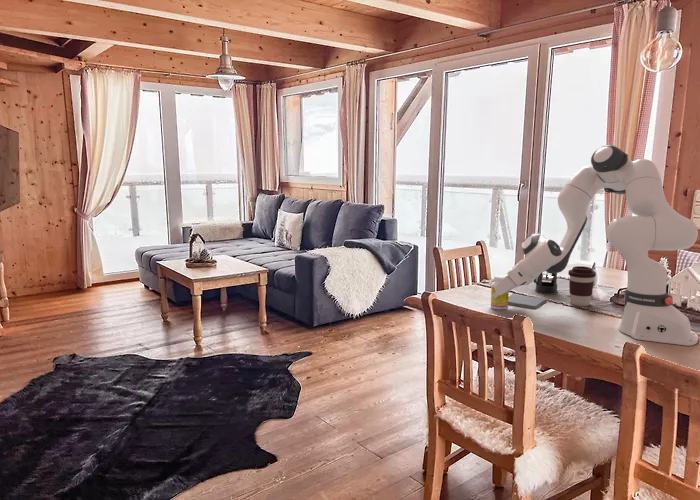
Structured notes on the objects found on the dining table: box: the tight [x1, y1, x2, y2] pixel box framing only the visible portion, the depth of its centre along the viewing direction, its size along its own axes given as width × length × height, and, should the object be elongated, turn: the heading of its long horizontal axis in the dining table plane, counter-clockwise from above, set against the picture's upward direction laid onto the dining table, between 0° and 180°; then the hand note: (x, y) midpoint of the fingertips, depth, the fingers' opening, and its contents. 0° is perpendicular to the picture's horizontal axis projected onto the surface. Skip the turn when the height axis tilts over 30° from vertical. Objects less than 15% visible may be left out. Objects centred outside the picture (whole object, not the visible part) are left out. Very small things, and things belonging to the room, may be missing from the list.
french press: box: [533, 272, 559, 295], centre depth 221 cm, size 12×9×23 cm
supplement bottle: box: [490, 274, 510, 311], centre depth 198 cm, size 7×7×13 cm
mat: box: [508, 293, 547, 310], centre depth 206 cm, size 14×13×1 cm
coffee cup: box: [567, 265, 597, 307], centre depth 201 cm, size 10×10×15 cm
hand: (498, 294), depth 198 cm, fingers closed on supplement bottle, 7 cm apart
